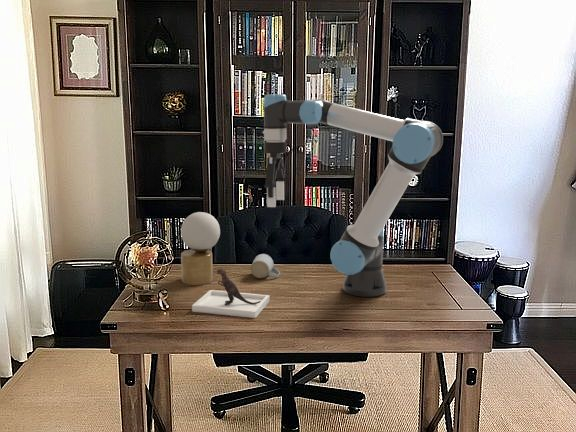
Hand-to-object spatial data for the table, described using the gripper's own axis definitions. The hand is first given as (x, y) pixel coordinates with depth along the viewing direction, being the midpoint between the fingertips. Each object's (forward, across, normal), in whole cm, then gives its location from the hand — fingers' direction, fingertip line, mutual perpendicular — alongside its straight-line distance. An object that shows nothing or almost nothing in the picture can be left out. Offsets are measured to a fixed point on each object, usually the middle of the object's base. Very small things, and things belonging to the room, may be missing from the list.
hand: (275, 203), depth 218 cm
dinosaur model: (+30, +20, -8) cm, 37 cm away
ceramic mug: (+31, -14, -8) cm, 35 cm away
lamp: (+30, -5, -30) cm, 43 cm away
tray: (+31, +20, -10) cm, 38 cm away
